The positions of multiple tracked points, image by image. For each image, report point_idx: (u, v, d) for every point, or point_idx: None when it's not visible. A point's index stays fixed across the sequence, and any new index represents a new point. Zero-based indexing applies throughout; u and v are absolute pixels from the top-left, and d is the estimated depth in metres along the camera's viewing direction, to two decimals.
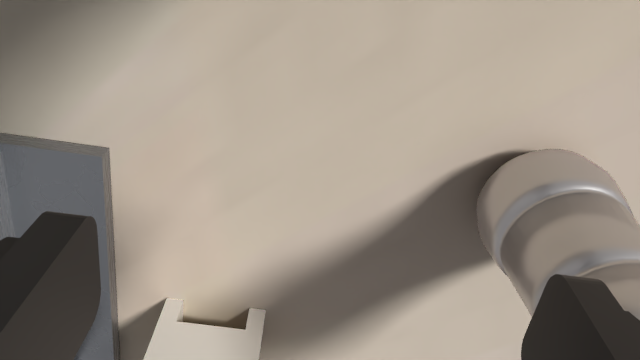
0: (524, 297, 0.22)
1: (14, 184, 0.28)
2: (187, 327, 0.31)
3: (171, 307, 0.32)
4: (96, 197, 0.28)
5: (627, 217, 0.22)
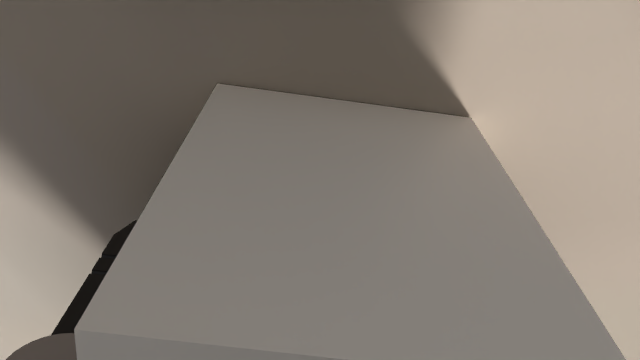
0: None
1: None
2: None
3: None
4: None
5: None
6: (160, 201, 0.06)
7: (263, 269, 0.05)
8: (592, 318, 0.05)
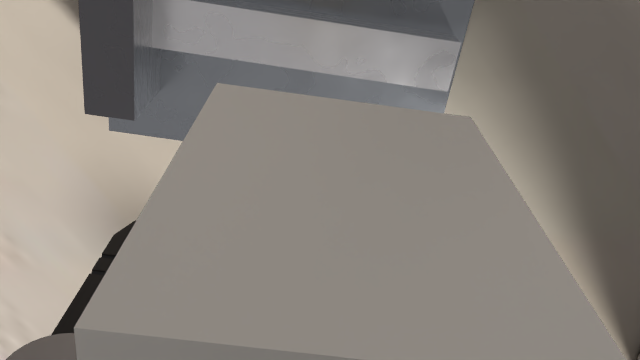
0: None
1: None
2: None
3: None
4: None
5: None
6: (160, 200, 0.06)
7: (264, 268, 0.05)
8: (592, 316, 0.05)
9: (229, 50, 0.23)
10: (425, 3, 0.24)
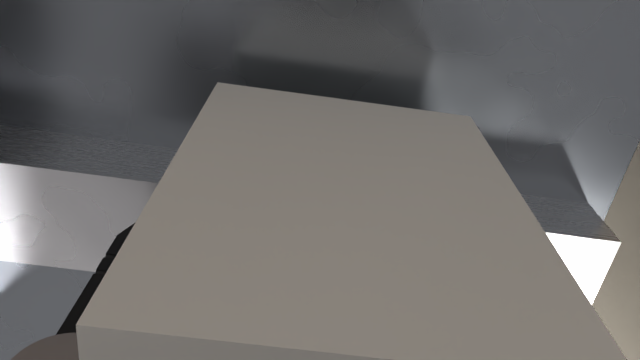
0: None
1: None
2: None
3: None
4: None
5: None
6: (161, 198, 0.06)
7: (264, 266, 0.05)
8: (591, 312, 0.05)
9: None
10: (532, 144, 0.11)
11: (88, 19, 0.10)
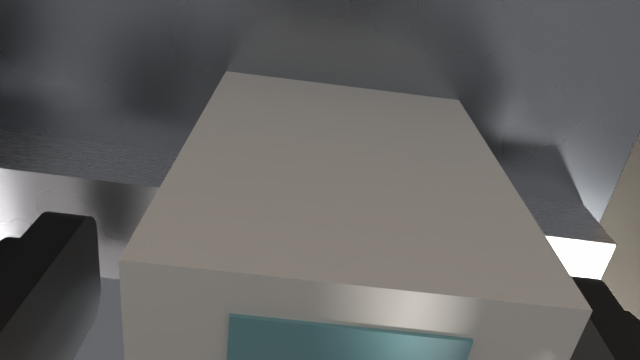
0: None
1: None
2: None
3: None
4: None
5: None
6: (180, 167, 0.07)
7: (273, 219, 0.06)
8: (553, 257, 0.06)
9: (99, 262, 0.11)
10: (527, 146, 0.11)
11: (81, 22, 0.10)
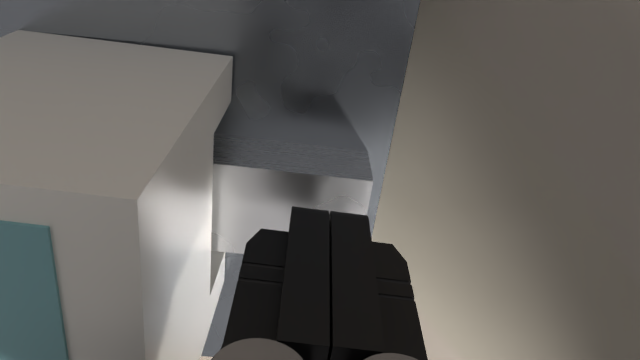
0: None
1: None
2: (208, 176, 0.10)
3: (225, 89, 0.11)
4: None
5: None
6: None
7: None
8: (154, 165, 0.07)
9: None
10: (306, 97, 0.12)
11: None
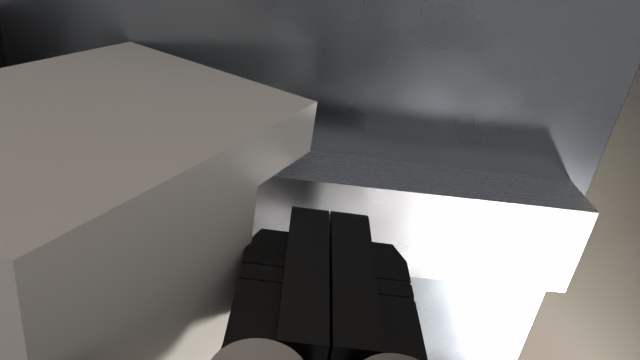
0: None
1: None
2: (241, 233, 0.09)
3: (293, 137, 0.09)
4: None
5: None
6: None
7: None
8: (83, 220, 0.06)
9: None
10: (520, 129, 0.12)
11: (128, 24, 0.11)
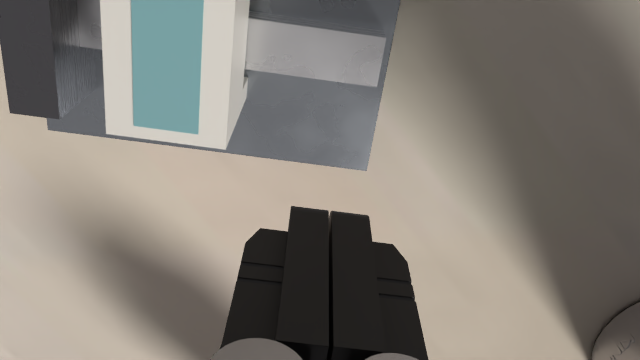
0: None
1: None
2: (247, 15, 0.22)
3: None
4: (319, 157, 0.27)
5: None
6: None
7: None
8: None
9: None
10: None
11: None
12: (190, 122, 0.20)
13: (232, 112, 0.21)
